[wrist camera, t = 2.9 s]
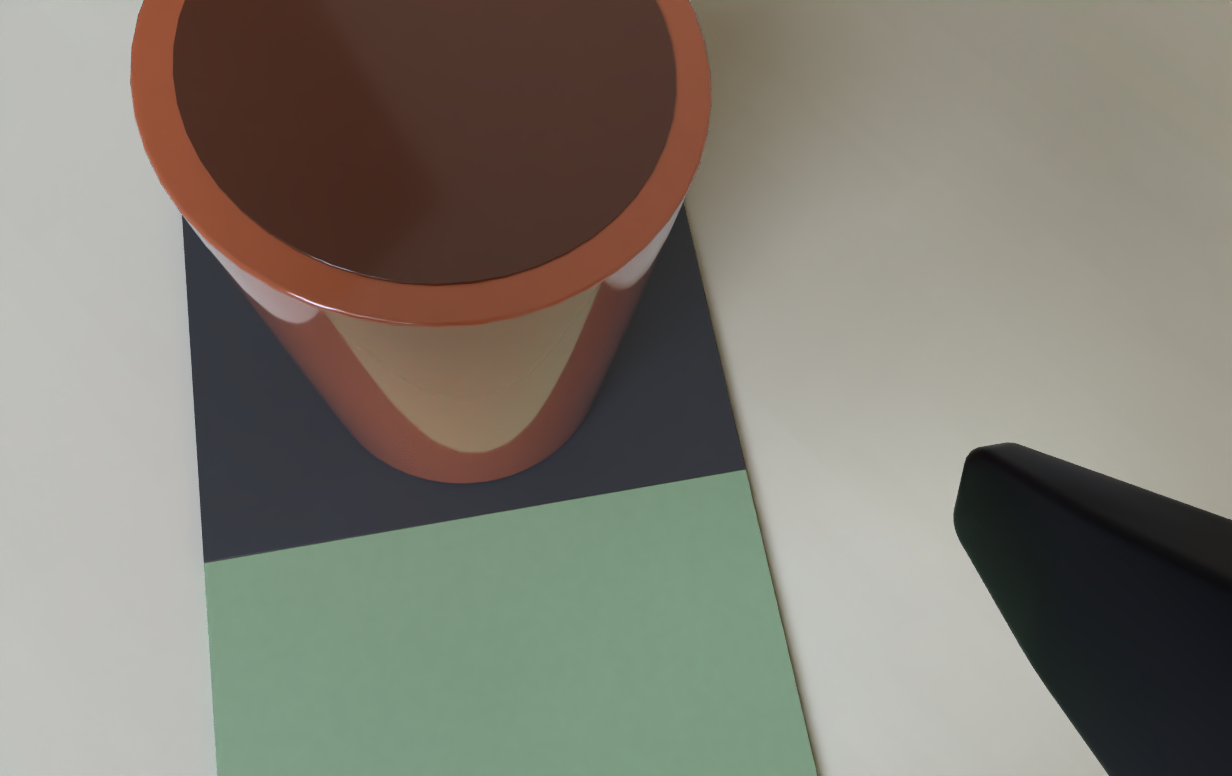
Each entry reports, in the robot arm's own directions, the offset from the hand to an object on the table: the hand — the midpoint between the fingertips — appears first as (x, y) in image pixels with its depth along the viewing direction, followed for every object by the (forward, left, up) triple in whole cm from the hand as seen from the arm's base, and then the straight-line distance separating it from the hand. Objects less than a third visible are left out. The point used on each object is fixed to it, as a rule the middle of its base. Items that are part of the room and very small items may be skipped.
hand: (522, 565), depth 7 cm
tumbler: (+6, +3, -12) cm, 14 cm away
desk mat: (+2, +1, -12) cm, 13 cm away
